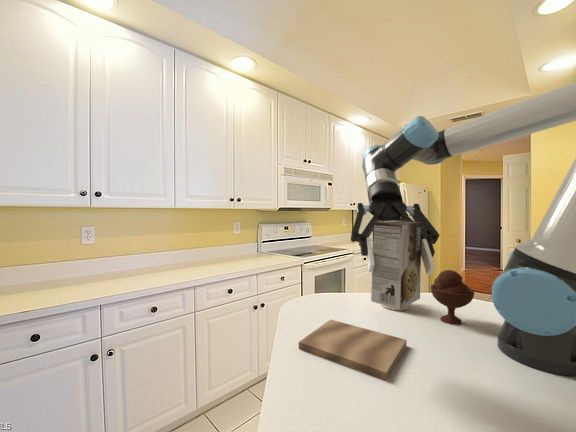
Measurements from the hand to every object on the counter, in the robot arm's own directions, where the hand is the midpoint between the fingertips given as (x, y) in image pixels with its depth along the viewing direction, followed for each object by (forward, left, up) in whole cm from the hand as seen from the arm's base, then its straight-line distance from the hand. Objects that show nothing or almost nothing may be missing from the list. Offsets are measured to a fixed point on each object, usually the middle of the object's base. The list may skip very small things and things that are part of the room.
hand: (400, 269), depth 52 cm
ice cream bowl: (-5, -36, -21) cm, 42 cm away
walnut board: (+12, -5, -21) cm, 25 cm away
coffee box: (+2, -3, -7) cm, 8 cm away
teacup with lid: (+11, -40, -21) cm, 47 cm away
